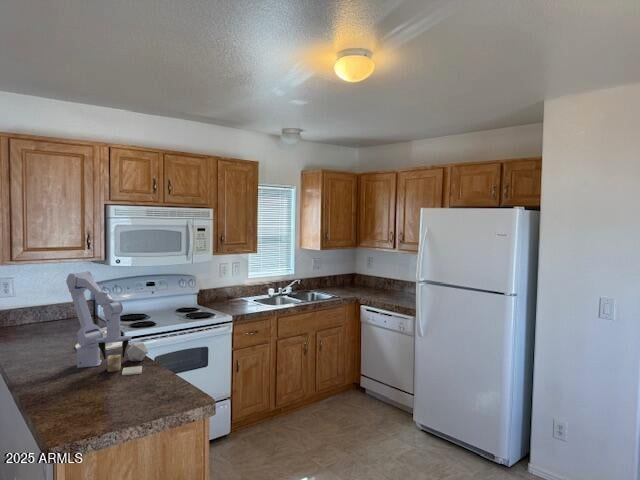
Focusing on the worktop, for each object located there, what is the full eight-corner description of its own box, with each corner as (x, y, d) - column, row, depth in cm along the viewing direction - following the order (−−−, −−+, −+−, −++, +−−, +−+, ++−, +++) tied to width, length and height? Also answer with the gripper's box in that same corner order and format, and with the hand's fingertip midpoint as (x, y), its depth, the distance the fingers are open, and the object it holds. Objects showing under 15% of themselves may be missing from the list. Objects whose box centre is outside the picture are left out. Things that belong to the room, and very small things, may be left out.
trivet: (121, 375, 196) (121, 373, 196) (123, 369, 204) (123, 367, 204) (141, 373, 199) (141, 371, 199) (142, 367, 206) (142, 365, 206)
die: (134, 365, 211) (147, 347, 214) (119, 355, 213) (133, 337, 215) (141, 366, 219) (153, 348, 222) (127, 356, 221) (139, 338, 223)
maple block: (107, 371, 201) (107, 358, 201) (109, 368, 206) (108, 355, 205) (119, 370, 203) (119, 357, 202) (120, 367, 207) (120, 354, 207)
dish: (127, 348, 237) (126, 327, 237) (73, 354, 227) (73, 332, 226) (125, 337, 260) (124, 318, 259) (76, 342, 249) (75, 322, 248)
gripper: (94, 331, 197) (95, 362, 198) (129, 329, 202) (130, 358, 202) (96, 328, 204) (97, 357, 204) (131, 325, 208) (131, 354, 209)
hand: (114, 357), depth 204 cm, fingers open, 7 cm apart
